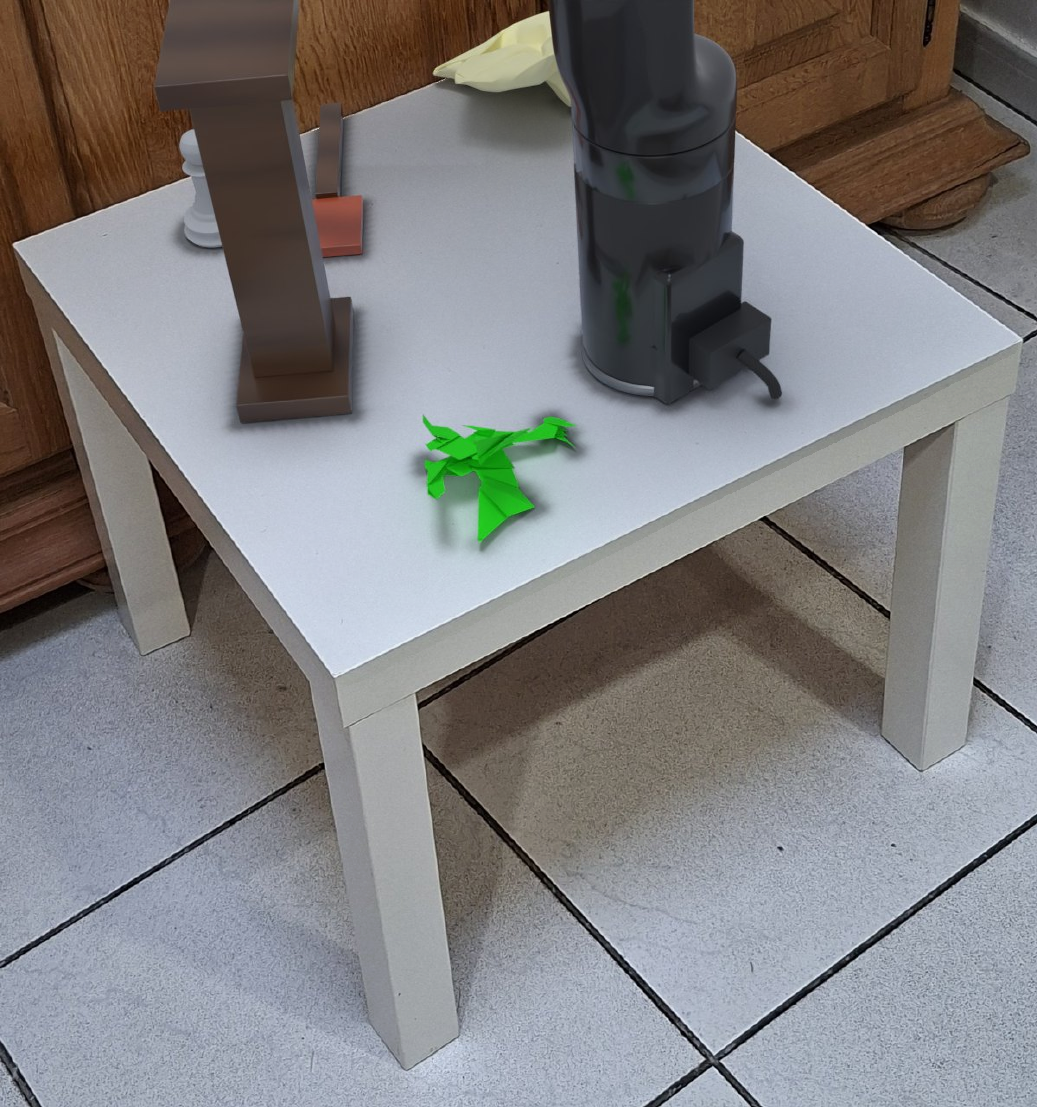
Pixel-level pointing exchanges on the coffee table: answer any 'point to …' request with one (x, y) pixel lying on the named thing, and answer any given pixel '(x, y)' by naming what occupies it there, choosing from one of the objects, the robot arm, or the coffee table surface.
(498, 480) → the figurine
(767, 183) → the coffee table surface
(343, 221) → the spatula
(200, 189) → the chess piece
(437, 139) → the coffee table surface
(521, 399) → the coffee table surface
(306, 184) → the wooden pedestal stand
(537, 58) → the cloth
